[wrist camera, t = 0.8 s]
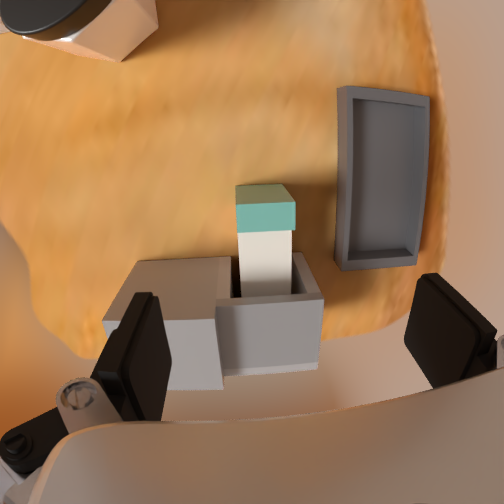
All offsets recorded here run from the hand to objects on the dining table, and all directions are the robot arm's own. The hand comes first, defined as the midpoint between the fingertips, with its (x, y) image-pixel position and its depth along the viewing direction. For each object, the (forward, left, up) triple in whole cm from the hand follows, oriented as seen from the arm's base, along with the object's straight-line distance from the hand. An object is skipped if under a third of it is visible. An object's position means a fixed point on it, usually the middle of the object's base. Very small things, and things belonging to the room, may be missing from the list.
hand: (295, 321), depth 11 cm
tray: (-2, +11, -18) cm, 22 cm away
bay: (+9, -4, -18) cm, 21 cm away
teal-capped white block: (+5, 0, -18) cm, 19 cm away
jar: (-18, -12, -19) cm, 28 cm away
